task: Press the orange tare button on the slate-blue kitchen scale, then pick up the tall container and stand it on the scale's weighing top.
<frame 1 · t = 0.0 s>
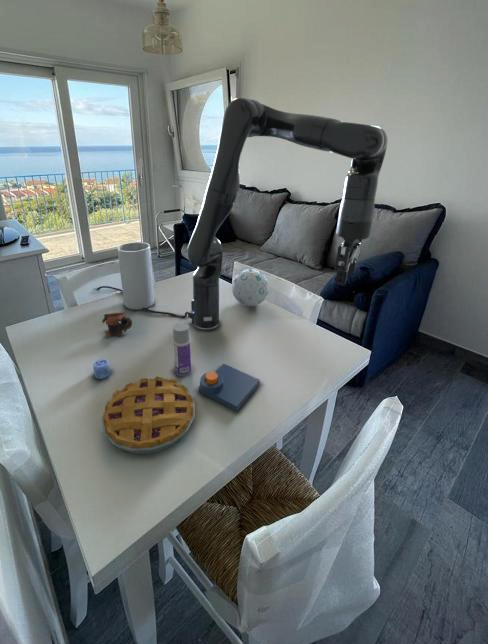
hand: (345, 279, 82), 29 cm above the table, tool pointing down, fingers open, 8 cm apart
decorative dice: (102, 374, 93), on the table
pie: (150, 420, 77), on the table
tare button: (211, 378, 85), point 4 cm above the table, slide at 0.1 cm
cylinder vase: (139, 303, 134), on the table
container: (183, 371, 94), on the table
scale: (229, 388, 87), on the table
puzzle ball: (249, 304, 133), on the table
pottery mug: (118, 331, 114), on the table
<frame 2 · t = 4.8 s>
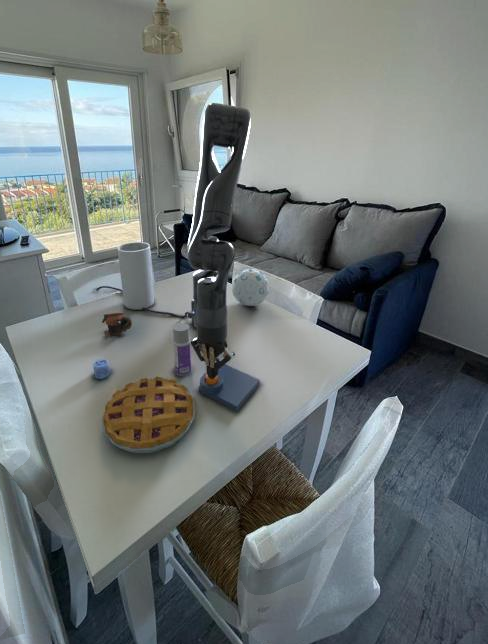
hand: (212, 376, 84), 5 cm above the table, tool pointing down, fingers closed
tare button: (211, 378, 85), point 4 cm above the table, slide at 0.0 cm, touching gripper
everything else where it was.
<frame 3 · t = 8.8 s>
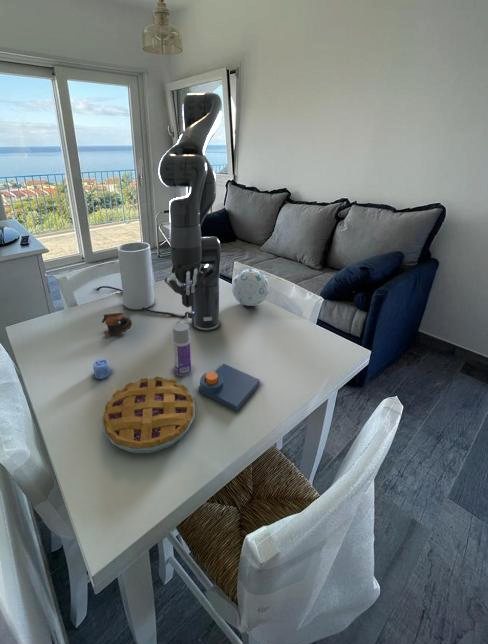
hand: (187, 305, 83), 23 cm above the table, tool pointing down, fingers closed
tare button: (211, 378, 85), point 4 cm above the table, slide at 0.1 cm
everything else where it was.
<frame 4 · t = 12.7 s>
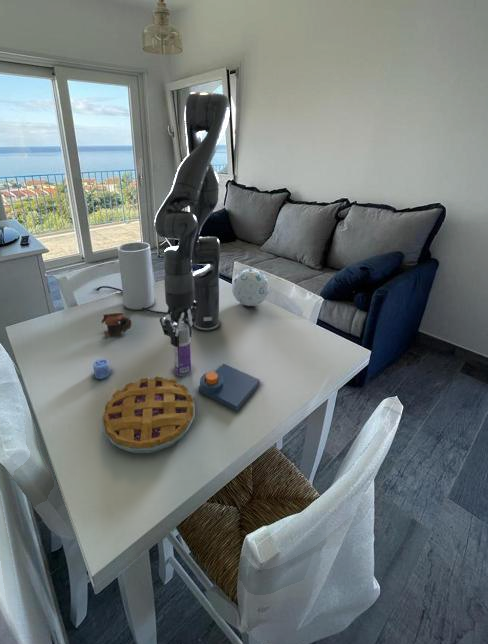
hand: (181, 341, 90), 10 cm above the table, tool pointing down, fingers closed on container, 4 cm apart
container: (183, 371, 94), on the table, touching gripper
everything else where it was.
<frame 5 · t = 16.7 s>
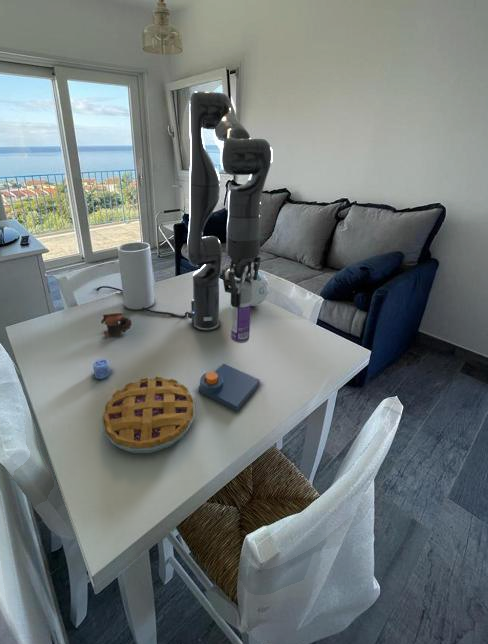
hand: (241, 302, 78), 26 cm above the table, tool pointing down, fingers closed on container, 4 cm apart
container: (239, 338, 82), point 15 cm above the table, touching gripper
everything else where it was.
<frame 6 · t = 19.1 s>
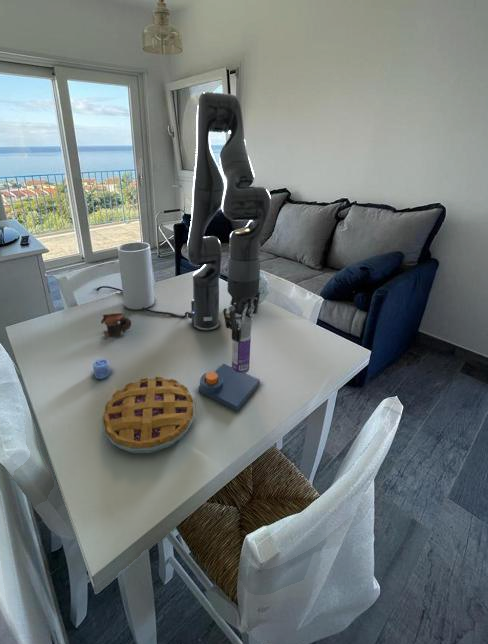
hand: (241, 335, 81), 17 cm above the table, tool pointing down, fingers closed on container, 4 cm apart
container: (240, 368, 85), point 6 cm above the table, touching gripper
everything else where it was.
when the fingers open (12 cm above the table, at t = 20.9 s): container stays where it is, resting on scale.
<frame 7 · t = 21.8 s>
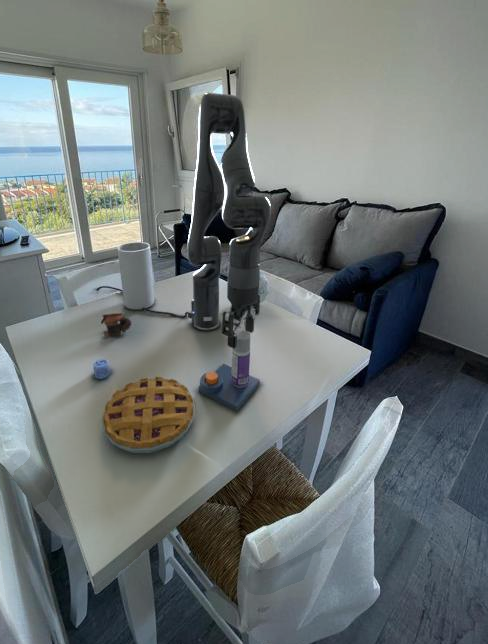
hand: (240, 338, 82), 16 cm above the table, tool pointing down, fingers open, 8 cm apart
container: (239, 382, 87), point 2 cm above the table, touching scale
everything else where it was.
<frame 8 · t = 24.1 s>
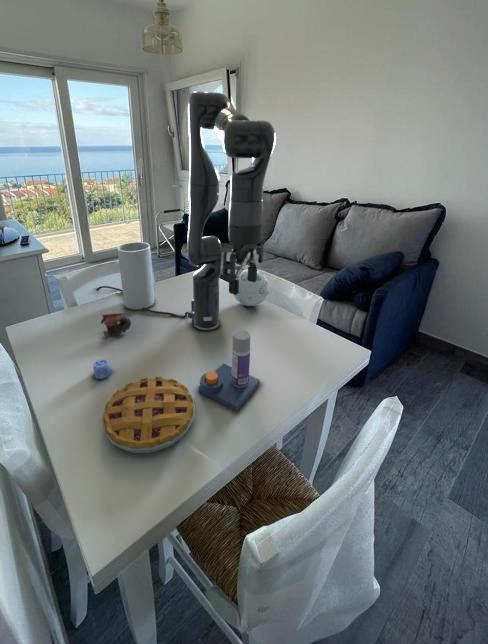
hand: (243, 287, 76), 30 cm above the table, tool pointing down, fingers open, 8 cm apart
nothing on the table moved.
at the end: tare button pushed in 1.1 cm at the most during the clip, back to where it started at the end; container inside the target area on the scale (2.9 cm from its centre), point 1.5 cm above the scale's base; container touching scale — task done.
